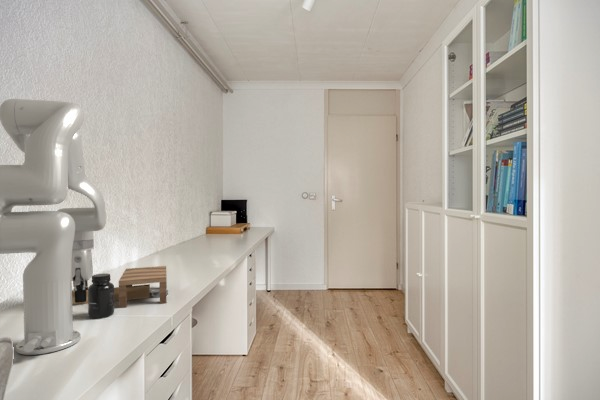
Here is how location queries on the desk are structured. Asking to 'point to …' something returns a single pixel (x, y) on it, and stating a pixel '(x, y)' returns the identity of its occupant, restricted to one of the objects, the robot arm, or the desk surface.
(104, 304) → the supplement bottle
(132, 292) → the oak stick
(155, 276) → the desk riser
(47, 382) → the desk surface
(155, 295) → the steel disc
